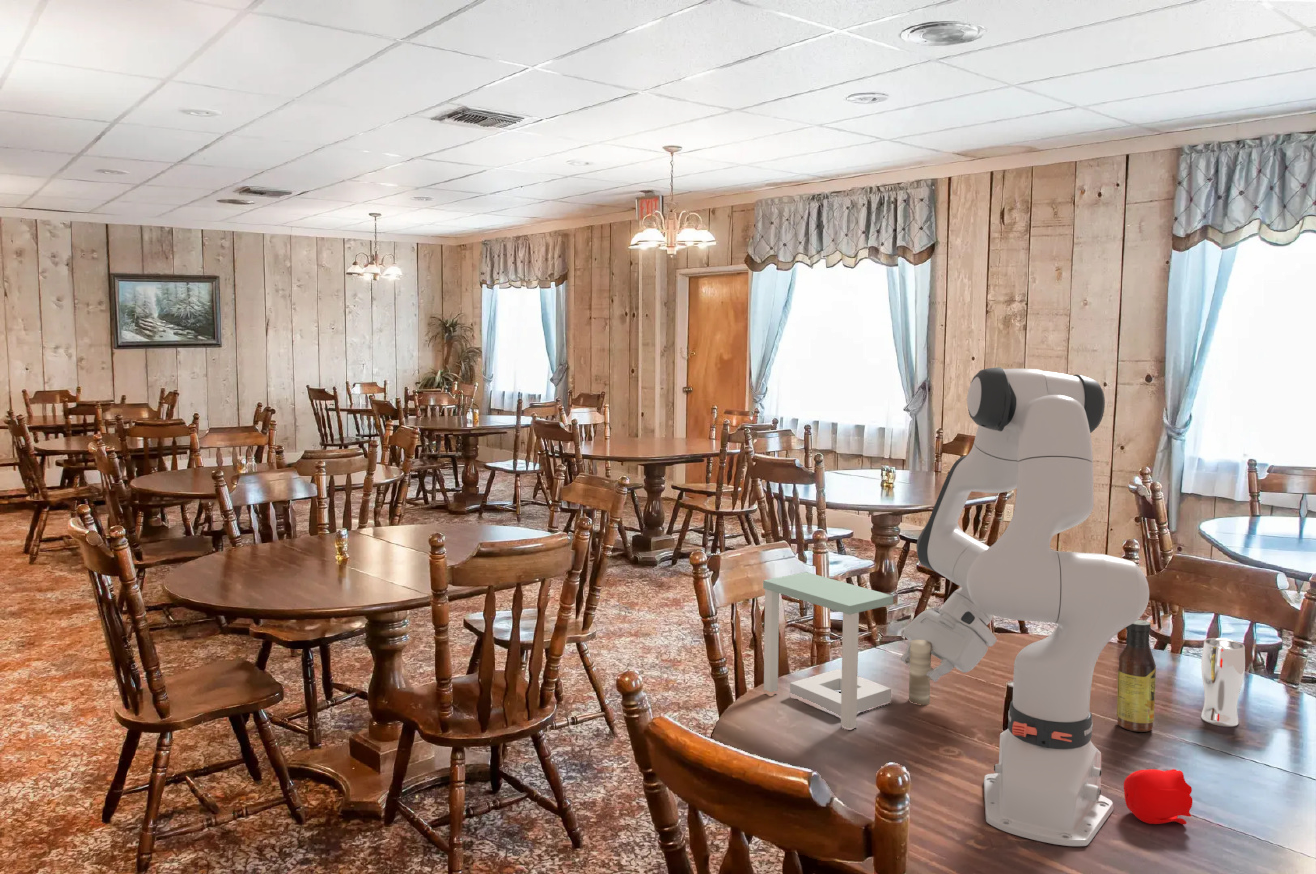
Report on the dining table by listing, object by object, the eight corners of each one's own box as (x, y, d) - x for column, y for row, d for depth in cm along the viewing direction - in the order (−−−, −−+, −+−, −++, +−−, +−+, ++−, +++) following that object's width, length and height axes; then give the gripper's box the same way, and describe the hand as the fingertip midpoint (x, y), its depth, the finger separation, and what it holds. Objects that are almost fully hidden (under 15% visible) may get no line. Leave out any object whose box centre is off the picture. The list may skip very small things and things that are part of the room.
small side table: (804, 682, 197) (806, 572, 194) (890, 716, 178) (893, 595, 176) (761, 694, 190) (763, 580, 187) (846, 732, 171) (849, 606, 169)
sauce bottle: (1158, 735, 170) (1163, 628, 168) (1121, 732, 171) (1126, 626, 169) (1147, 721, 176) (1152, 618, 174) (1111, 718, 177) (1116, 616, 176)
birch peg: (926, 706, 183) (928, 647, 182) (906, 703, 185) (908, 644, 184) (931, 700, 187) (933, 641, 185) (911, 696, 189) (913, 638, 187)
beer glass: (1229, 714, 180) (1234, 638, 178) (1248, 728, 173) (1253, 649, 171) (1191, 712, 180) (1196, 637, 179) (1209, 727, 173) (1213, 648, 172)
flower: (1111, 769, 144) (1164, 768, 144) (1120, 823, 142) (1174, 823, 142) (1133, 769, 137) (1189, 769, 137) (1143, 826, 134) (1200, 826, 134)
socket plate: (838, 682, 196) (838, 668, 196) (890, 703, 185) (891, 688, 185) (790, 697, 188) (790, 682, 188) (841, 719, 177) (842, 704, 176)
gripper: (923, 595, 196) (881, 644, 194) (983, 622, 176) (936, 678, 175) (941, 614, 198) (899, 663, 196) (1002, 643, 178) (956, 698, 176)
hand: (917, 670), depth 185 cm, fingers open, 8 cm apart
